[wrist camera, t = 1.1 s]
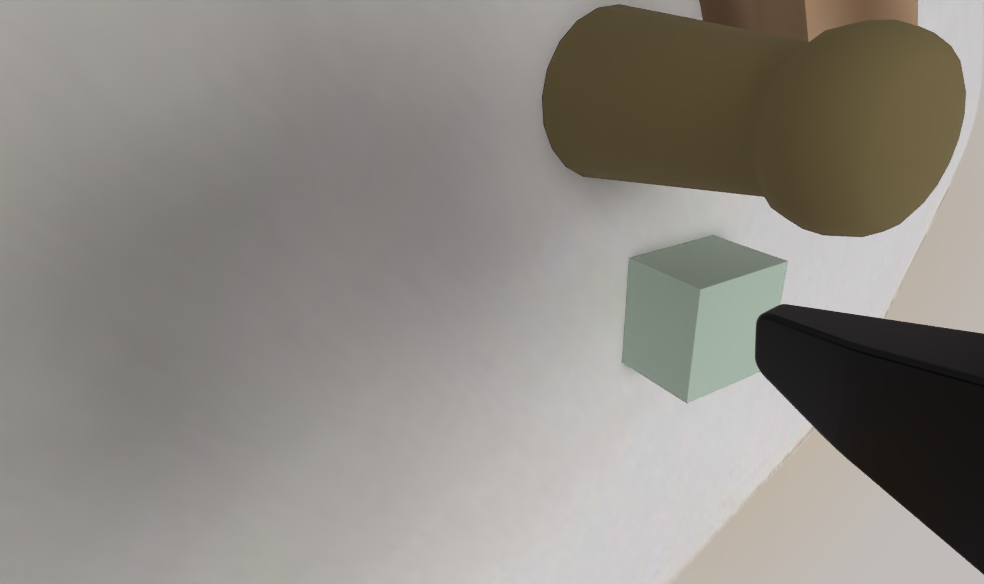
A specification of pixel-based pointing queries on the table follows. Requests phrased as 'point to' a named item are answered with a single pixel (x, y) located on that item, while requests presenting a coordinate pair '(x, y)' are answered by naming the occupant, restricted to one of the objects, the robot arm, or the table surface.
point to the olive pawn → (760, 113)
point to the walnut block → (804, 14)
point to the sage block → (698, 313)
